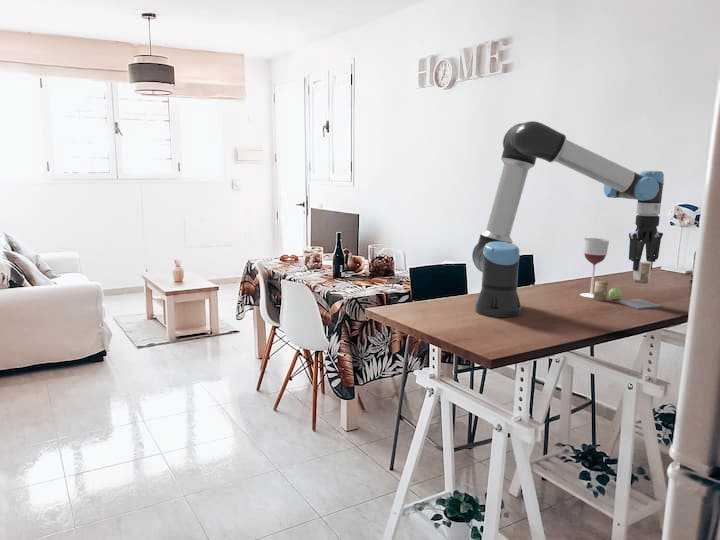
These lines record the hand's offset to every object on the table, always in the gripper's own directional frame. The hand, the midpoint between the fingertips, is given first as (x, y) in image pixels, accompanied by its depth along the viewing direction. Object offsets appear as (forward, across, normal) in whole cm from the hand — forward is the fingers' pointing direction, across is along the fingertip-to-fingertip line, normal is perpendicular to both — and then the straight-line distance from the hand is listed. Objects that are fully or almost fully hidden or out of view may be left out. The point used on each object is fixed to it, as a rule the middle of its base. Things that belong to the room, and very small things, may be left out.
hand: (641, 279), depth 204 cm
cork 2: (+1, 0, 0) cm, 1 cm away
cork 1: (+10, -9, +10) cm, 16 cm away
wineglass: (+10, -7, +17) cm, 21 cm away
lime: (+10, -3, +9) cm, 13 cm away
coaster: (+10, 0, 0) cm, 10 cm away
